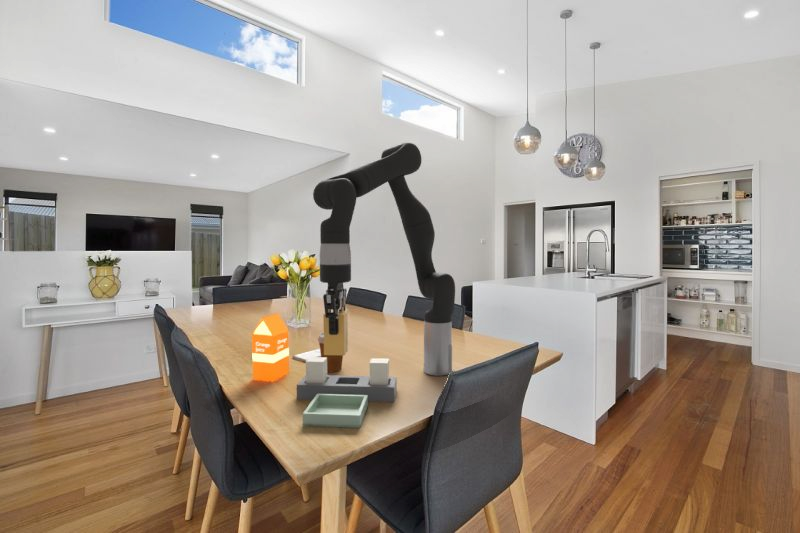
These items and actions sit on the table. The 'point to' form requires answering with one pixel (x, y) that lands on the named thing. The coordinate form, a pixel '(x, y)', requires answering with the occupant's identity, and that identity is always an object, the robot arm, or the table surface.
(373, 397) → the rack
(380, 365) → the fuse
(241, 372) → the table surface
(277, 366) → the orange juice
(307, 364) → the fuse
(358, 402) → the tray
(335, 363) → the disposable coffee cup
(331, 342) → the tan rectangular block
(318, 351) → the external hard drive
